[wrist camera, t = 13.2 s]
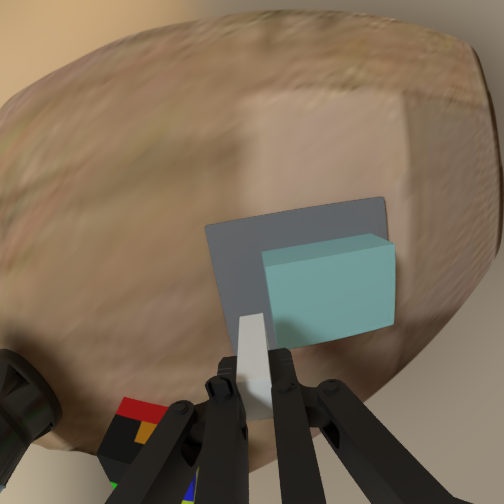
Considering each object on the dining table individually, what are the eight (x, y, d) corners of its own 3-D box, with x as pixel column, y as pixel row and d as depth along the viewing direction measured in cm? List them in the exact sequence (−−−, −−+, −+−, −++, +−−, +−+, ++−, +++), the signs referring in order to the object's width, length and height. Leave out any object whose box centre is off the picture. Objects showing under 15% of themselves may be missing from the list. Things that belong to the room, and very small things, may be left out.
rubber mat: (235, 354, 27) (235, 357, 26) (205, 225, 24) (204, 226, 23) (385, 321, 26) (388, 324, 26) (380, 196, 23) (383, 196, 23)
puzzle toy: (202, 412, 29) (192, 478, 19) (201, 454, 31) (194, 510, 21) (124, 396, 28) (96, 454, 19) (134, 441, 31) (116, 492, 21)
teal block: (278, 350, 21) (393, 324, 21) (264, 267, 19) (394, 243, 19) (273, 324, 25) (373, 303, 25) (261, 251, 24) (370, 233, 24)
